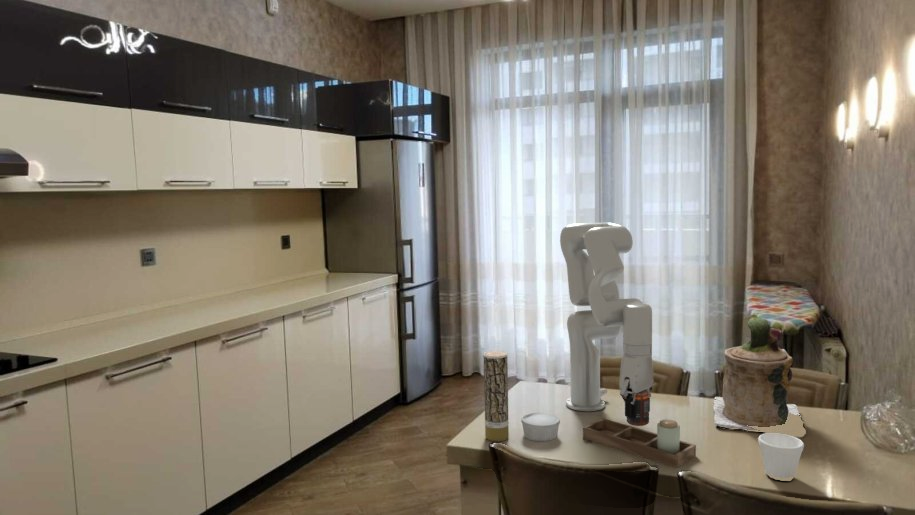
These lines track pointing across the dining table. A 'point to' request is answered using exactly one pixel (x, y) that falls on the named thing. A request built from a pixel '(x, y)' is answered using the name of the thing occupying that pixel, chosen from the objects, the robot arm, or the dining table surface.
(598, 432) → the rack
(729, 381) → the cookie jar
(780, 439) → the cup
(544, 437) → the ramekin
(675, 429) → the sage jar
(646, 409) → the supplement bottle
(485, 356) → the bark-patterned cylinder
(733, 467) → the dining table surface
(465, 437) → the dining table surface
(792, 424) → the dining table surface
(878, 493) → the dining table surface
